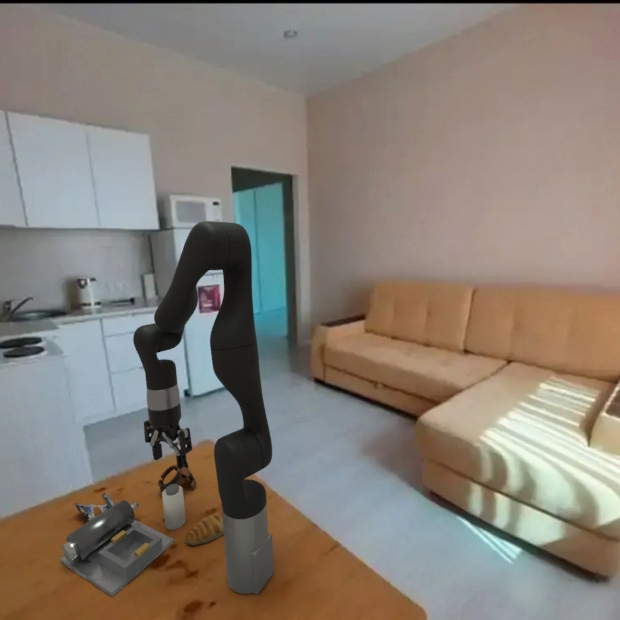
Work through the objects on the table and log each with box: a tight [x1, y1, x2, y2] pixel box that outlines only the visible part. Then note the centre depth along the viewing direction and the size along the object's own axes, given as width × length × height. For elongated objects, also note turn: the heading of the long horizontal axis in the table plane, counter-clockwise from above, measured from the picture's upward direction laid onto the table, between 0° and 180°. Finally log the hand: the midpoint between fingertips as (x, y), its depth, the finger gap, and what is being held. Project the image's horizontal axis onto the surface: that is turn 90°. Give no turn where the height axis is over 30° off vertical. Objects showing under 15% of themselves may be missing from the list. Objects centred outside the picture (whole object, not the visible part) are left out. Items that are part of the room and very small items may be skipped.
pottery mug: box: [157, 462, 197, 493], centre depth 111 cm, size 12×10×8 cm
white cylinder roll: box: [161, 484, 187, 531], centre depth 96 cm, size 5×5×10 cm
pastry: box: [185, 512, 224, 546], centre depth 92 cm, size 9×7×4 cm
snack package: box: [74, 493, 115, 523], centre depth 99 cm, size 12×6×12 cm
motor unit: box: [59, 499, 175, 598], centre depth 88 cm, size 19×18×7 cm
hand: (169, 462), depth 94 cm, fingers open, 8 cm apart
